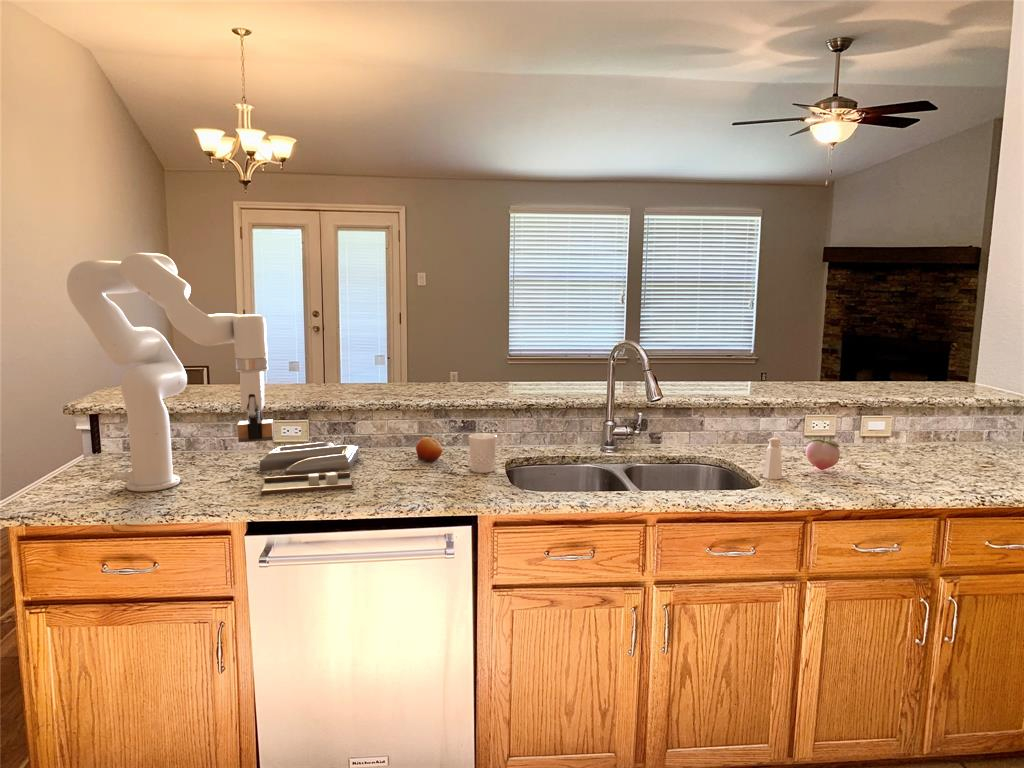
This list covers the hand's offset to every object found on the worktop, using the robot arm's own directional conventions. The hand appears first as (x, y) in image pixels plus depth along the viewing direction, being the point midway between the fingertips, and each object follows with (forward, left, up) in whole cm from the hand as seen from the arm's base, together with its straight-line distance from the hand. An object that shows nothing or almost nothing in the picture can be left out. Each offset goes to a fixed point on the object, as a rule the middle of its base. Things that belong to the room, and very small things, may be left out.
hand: (256, 436), depth 176 cm
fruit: (+47, +21, -15) cm, 54 cm away
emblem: (+13, +22, -15) cm, 30 cm away
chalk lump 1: (+14, 0, -13) cm, 19 cm away
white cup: (+60, +7, -15) cm, 62 cm away
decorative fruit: (+157, -16, -15) cm, 158 cm away
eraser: (0, 0, -1) cm, 1 cm away
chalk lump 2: (+18, 0, -13) cm, 23 cm away
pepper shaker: (+138, -19, -15) cm, 140 cm away
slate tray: (+12, 0, -15) cm, 19 cm away
